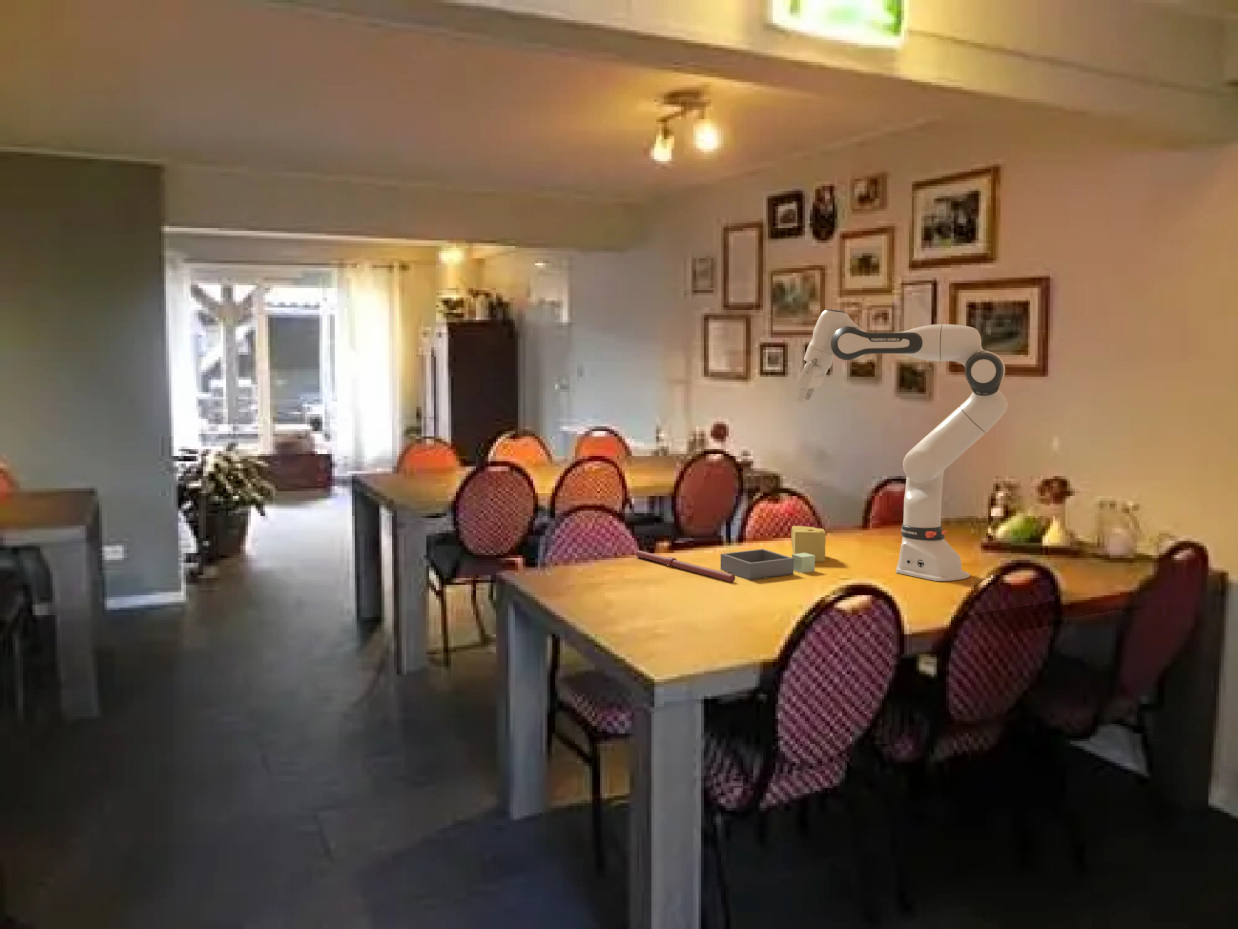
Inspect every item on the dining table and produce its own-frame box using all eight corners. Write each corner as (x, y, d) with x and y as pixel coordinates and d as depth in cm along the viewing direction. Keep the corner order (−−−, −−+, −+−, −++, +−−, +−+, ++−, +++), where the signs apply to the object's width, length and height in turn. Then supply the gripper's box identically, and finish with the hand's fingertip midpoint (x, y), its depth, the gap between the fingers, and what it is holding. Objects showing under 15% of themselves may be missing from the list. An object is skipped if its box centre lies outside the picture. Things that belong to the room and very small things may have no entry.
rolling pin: (634, 559, 331) (634, 549, 330) (642, 557, 333) (642, 548, 332) (728, 584, 295) (729, 574, 295) (736, 583, 297) (736, 572, 297)
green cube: (814, 571, 310) (814, 555, 310) (801, 573, 308) (801, 557, 308) (804, 568, 315) (804, 552, 314) (791, 570, 313) (791, 554, 312)
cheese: (822, 555, 333) (823, 526, 332) (826, 562, 323) (826, 532, 321) (790, 555, 334) (791, 525, 333) (793, 562, 324) (793, 531, 322)
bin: (793, 574, 306) (793, 558, 306) (749, 580, 299) (750, 563, 298) (762, 564, 320) (763, 548, 320) (720, 569, 313) (720, 553, 312)
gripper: (821, 362, 305) (805, 405, 308) (834, 361, 324) (819, 401, 327) (801, 355, 307) (786, 398, 311) (815, 355, 326) (801, 395, 329)
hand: (803, 400), depth 319 cm, fingers open, 8 cm apart
